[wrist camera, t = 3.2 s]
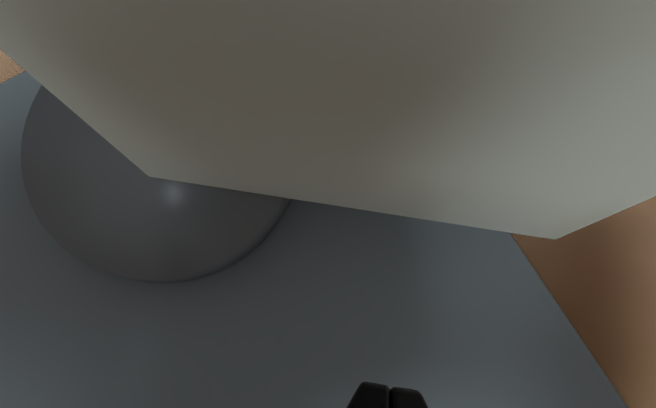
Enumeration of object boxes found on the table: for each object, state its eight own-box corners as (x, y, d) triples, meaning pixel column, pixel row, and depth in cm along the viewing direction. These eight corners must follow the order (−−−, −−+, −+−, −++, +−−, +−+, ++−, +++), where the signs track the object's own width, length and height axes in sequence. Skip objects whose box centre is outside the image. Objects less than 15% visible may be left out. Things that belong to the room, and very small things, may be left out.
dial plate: (641, 450, 15) (664, 458, 14) (49, 853, 13) (23, 898, 12) (303, -53, 19) (301, -77, 17) (-203, 215, 17) (-241, 206, 16)
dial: (13, 260, 15) (-708, 91, 5) (80, 21, 17) (-350, -509, 6) (528, 345, 15) (1029, 367, 4) (550, 89, 16) (955, -376, 6)
